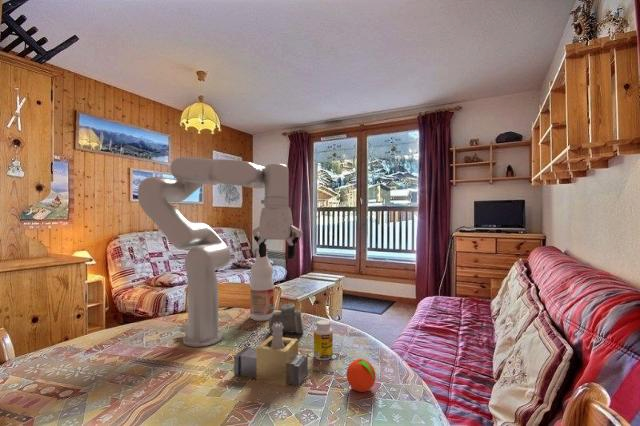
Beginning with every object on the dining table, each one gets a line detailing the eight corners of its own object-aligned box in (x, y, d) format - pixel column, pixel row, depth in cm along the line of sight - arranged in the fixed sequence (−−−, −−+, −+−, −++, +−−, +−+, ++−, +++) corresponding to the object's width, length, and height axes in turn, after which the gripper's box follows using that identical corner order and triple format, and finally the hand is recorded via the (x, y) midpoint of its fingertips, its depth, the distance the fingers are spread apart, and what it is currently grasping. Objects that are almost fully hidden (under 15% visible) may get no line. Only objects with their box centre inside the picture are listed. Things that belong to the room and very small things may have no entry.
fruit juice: (247, 315, 129) (247, 248, 129) (269, 312, 133) (269, 246, 133) (254, 322, 120) (253, 250, 121) (277, 319, 125) (277, 249, 125)
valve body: (232, 377, 80) (232, 344, 80) (248, 362, 88) (248, 332, 88) (297, 388, 75) (297, 353, 75) (308, 372, 83) (308, 340, 83)
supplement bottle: (320, 363, 88) (320, 326, 88) (310, 355, 93) (310, 321, 93) (336, 358, 91) (336, 323, 91) (325, 351, 96) (325, 317, 96)
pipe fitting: (304, 326, 115) (301, 299, 114) (304, 337, 107) (300, 308, 106) (272, 330, 115) (268, 303, 114) (269, 341, 107) (265, 312, 106)
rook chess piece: (269, 351, 83) (269, 321, 83) (286, 350, 83) (286, 320, 83) (268, 359, 78) (268, 327, 78) (286, 358, 79) (286, 326, 79)
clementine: (385, 394, 73) (385, 363, 73) (362, 404, 69) (362, 371, 69) (362, 379, 79) (362, 351, 79) (340, 387, 76) (340, 357, 76)
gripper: (246, 203, 98) (246, 258, 98) (297, 202, 92) (297, 260, 92) (258, 204, 105) (258, 255, 105) (306, 203, 100) (306, 257, 100)
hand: (276, 257), depth 99 cm, fingers open, 9 cm apart
